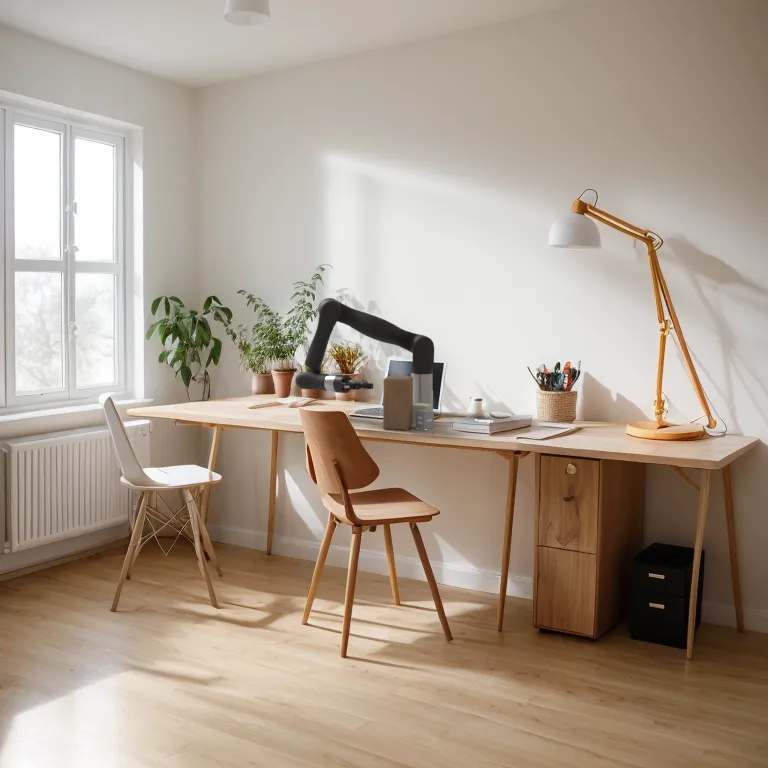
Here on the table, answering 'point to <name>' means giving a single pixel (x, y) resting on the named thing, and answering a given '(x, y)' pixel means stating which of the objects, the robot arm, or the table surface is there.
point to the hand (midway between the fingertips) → (372, 386)
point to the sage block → (420, 407)
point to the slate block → (425, 419)
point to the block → (398, 402)
